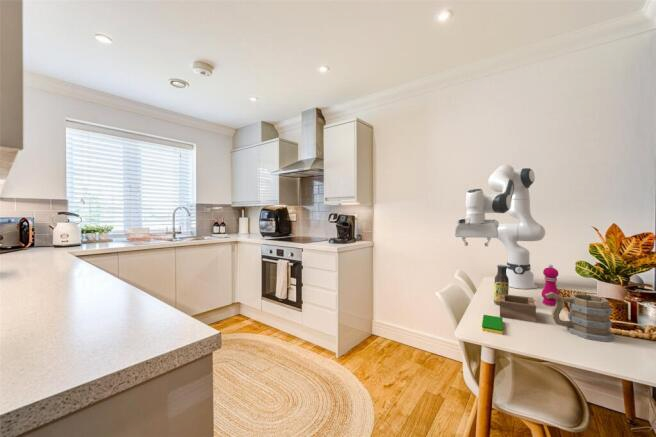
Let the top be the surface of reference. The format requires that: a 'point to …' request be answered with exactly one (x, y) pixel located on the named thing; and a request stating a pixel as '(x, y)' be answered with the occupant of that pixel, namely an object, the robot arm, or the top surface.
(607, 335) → the tankard
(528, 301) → the socket
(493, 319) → the dish sponge
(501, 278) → the sauce bottle
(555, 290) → the pepper mill
